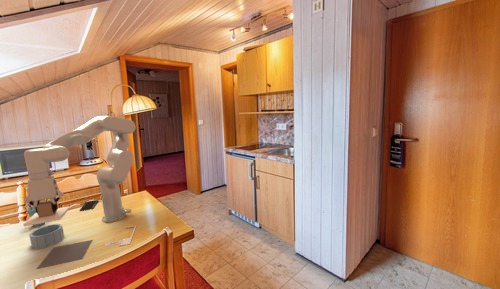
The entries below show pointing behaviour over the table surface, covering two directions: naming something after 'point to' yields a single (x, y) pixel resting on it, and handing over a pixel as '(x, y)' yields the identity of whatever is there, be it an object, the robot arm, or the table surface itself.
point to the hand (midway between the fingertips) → (47, 212)
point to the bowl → (46, 236)
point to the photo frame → (123, 240)
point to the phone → (89, 205)
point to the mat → (65, 254)
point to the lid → (46, 213)
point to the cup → (32, 212)
